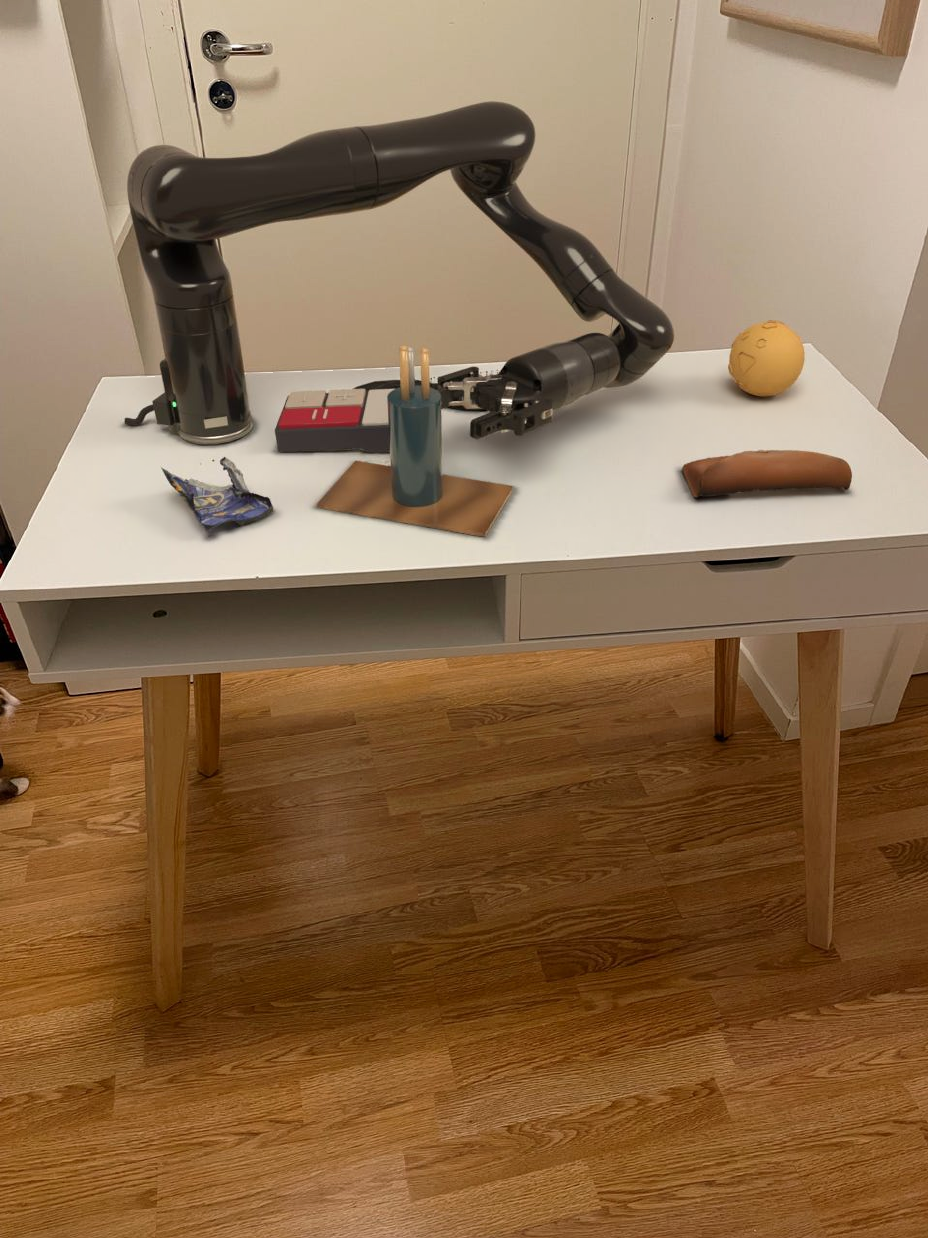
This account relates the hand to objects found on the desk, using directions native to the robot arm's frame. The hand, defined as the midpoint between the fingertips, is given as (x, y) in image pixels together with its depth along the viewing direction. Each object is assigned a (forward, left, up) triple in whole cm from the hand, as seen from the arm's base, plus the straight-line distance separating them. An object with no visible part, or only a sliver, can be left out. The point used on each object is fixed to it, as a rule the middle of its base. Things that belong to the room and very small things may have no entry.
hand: (446, 417), depth 108 cm
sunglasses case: (+35, +12, -9) cm, 38 cm away
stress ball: (+33, +39, -9) cm, 51 cm away
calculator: (-17, +9, -9) cm, 21 cm away
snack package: (-22, -13, -9) cm, 27 cm away
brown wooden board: (-2, -4, -9) cm, 10 cm away
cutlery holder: (-2, -4, -8) cm, 9 cm away
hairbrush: (-9, +23, -9) cm, 26 cm away
